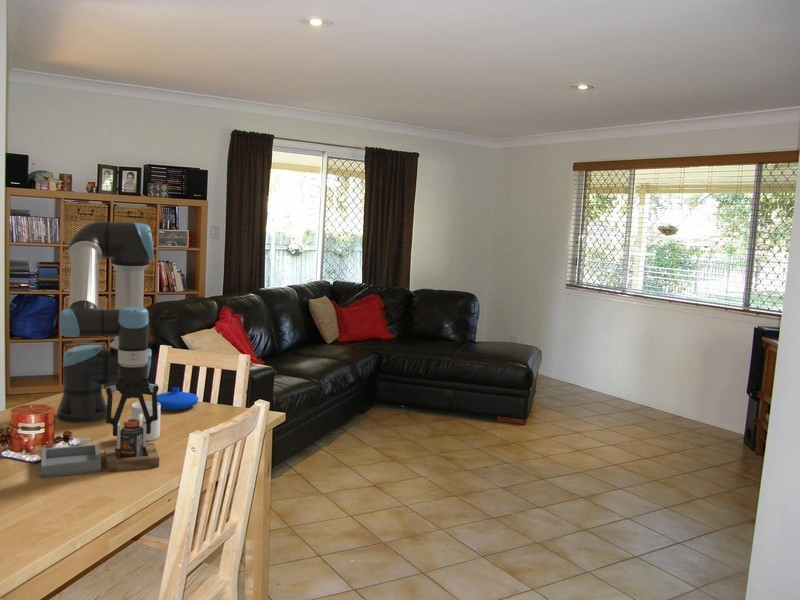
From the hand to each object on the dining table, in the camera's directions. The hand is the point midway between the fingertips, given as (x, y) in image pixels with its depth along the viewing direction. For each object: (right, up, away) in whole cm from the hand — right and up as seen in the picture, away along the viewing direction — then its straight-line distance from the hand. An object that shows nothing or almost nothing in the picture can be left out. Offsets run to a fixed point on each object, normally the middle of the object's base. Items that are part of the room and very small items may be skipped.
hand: (131, 446), depth 188 cm
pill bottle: (0, -4, 0) cm, 4 cm away
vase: (-6, +2, +54) cm, 54 cm away
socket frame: (-1, -4, +2) cm, 4 cm away
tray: (-14, -4, -6) cm, 16 cm away
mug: (-4, -2, +19) cm, 19 cm away
